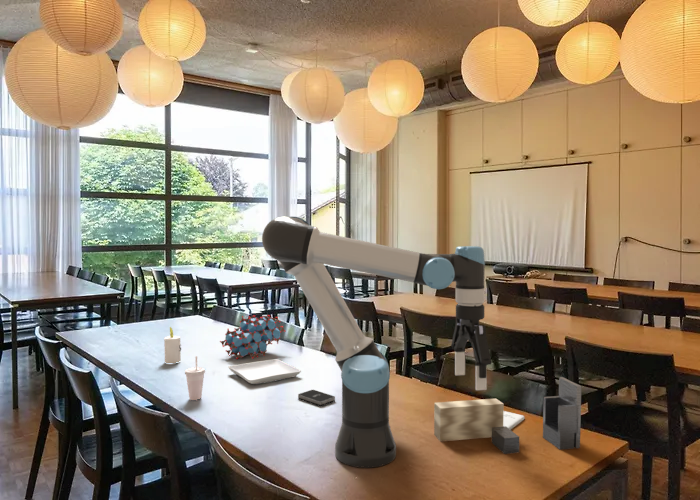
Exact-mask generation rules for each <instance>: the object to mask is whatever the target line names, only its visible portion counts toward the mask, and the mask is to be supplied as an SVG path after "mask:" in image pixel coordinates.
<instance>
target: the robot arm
mask: <svg viewBox="0 0 700 500" xmlns="http://www.w3.org/2000/svg"><path fill="white" fill-rule="evenodd" d="M262 232H263V233H262V236H261V239H262V240H261V242H262V246H263V249H264V251H265V252H266V253H267V255H268V256H269V257H271V258H272V259H274V260H276V261H279V263H280V265H281V267H282V268H283V270H284V272H285V274H288V275H290V276H293V277H294V278H295V280H296V281H297V283H298V285H299V287H300V289H301V290H302V292H303V294H304V296H305V298H306V299H307V302H308V303H309V304H310V306H311V308H312V310H313V312H314V313H315V315H316V318H317V319H318V320H319V323H320V324H321V325H322V328H323V329H324V331H325V333H326V335H327V336H328V339H329V340H330V342H331V344H332V345H333V348H335V351H336V355H335V359H334V361H335V362H336V364H337V366H338V368H339V369H340V371H341V373H340V376H341V381H342V382H341V392H342V393H341V395H342V397H341V403H342V404H341V408H342V409H341V418H342V419H341V425H340V428H339V432H338V436H337V438H336V441H335V447H334V455H335V458H336V459H337V460H338V461H339V462H341V463H342V464H345V465H347V466H351V467H355V468H378V467H382V466H386V465H388V464H390V463H392V462H393V461H394V460H395V459H396V456H397V445H396V441H395V440H394V439H395V438H394V435H393V433H392V429H391V426H390V377H391V372H390V367H389V363H388V360H387V358H386V356H385V355H384V354H383V352H381V351H380V350H379V348H378V347H377V345H376V343H375V342H374V339H373V338H372V337H369V336H365V335H364V332H362V330H361V328H360V327H359V325H358V322H357V321H356V319H355V317H354V316H353V314H352V312H351V310H350V308H349V307H348V304H347V303H346V301H345V300H344V297H343V296H342V295H341V293H340V291H339V289H338V287H337V286H336V283H335V282H334V280H333V279H332V277H331V274H330V273H329V271H328V269H327V268H326V266H325V265H328V266H333V267H336V268H337V267H338V268H343V269H347V270H352V271H356V272H362V273H366V274H371V275H376V276H380V277H386V278H390V279H394V280H399V281H405V282H408V283H409V282H410V283H414V284H418V285H422V286H427V287H429V288H430V289H432V290H433V289H434V290H443V289H446V288H448V287H449V286H450V285H451V284H452V283H454V282H455V302H456V305H455V326H454V331H453V335H452V340H451V344H450V345H451V348H453V351H454V375H455V376H465V375H466V352H465V351H467V350H466V345H467V343H468V342H469V343H470V344H471V348H472V350H473V355H474V357H475V361H476V362H475V364H474V366H475V368H474V369H475V370H474V371H475V377H474V378H475V380H474V381H475V384H474V385H475V391H487V385H488V384H487V381H488V380H487V378H488V377H487V373H488V372H487V366H489V365H491V364H492V358H491V355H490V348H489V344H488V339H487V331H486V326H485V325H480V321H481V320H483V319H485V305H484V303H485V294H486V291H485V269H486V268H485V266H486V262H485V251H484V248H483V247H481V246H477V245H472V246H471V245H467V246H466V245H465V246H464V245H462V246H460V245H459V246H456V247H455V252H454V253H449V254H448V253H422V252H418V251H414V250H413V251H412V250H408V249H402V248H398V247H395V246H390V245H383V244H378V243H374V242H371V241H365V240H361V239H355V238H350V237H345V236H341V235H336V234H331V233H327V232H322V231H320V230H319V228H318V227H317V226H313V225H310V223H309V222H308V221H306V220H305V219H303V218H301V217H299V216H287V215H285V216H278V217H275V218H274V219H272V220H270V221H269V222H268V223H267V225H266V226H265V227H264V229H263V231H262Z"/></svg>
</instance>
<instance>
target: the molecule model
mask: <svg viewBox="0 0 700 500" xmlns="http://www.w3.org/2000/svg"><path fill="white" fill-rule="evenodd" d="M247 317H248V318H244V316H243V315H242V316H241V320H240V321H239V327H238V328H236V327H235V328H234V329H233V331H231V330H229V328H227V331H226V333H225V334H224V335H225V339H224V340H222V341H221V340H219V343H221V345H222V347H223V348H225V347H226V346H228V347H229V349H228V350H227V349H226V350H225V352H226V353H227V356H228V355H229V354H230V355H229V357H231V356H233V355H234V356H235V359H236V360H238V359H239V358H243V357H246V356H248V355H249V356H250V358H251V357H252V358H251V359H253V360H254V358H259V355H260V354H262V355H263V356H265V355H266V352H267V351H268V350H267V348H268V345H273V342H276V344H277V345H279V341H280V339H281V333H282V332H283V333H285V332H286V330H285V328H284V325H280V326H276V323H281V320H280V319H279V317H278V316H275V317H271V315H270V314H267V315H266V316H265V315H262V316H260V317H256V315H254V314H253V315H252V316H250V315H249V316H247ZM236 357H237V358H236Z"/></svg>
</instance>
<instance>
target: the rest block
mask: <svg viewBox="0 0 700 500" xmlns="http://www.w3.org/2000/svg"><path fill="white" fill-rule="evenodd" d="M491 444H493V445H494V447H496V448H497V449H498V450H499V451H500V452H502V454H504V455H507V454H508V455H509V454H519V453H520V436H519V435H518V434H516V433H515V432H513V431H512V429H511V430H510V429H509V428H507V427H506V426H503V427H492V437H491Z"/></svg>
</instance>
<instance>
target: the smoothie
mask: <svg viewBox="0 0 700 500" xmlns="http://www.w3.org/2000/svg"><path fill="white" fill-rule="evenodd" d="M194 358H195V367H189V368H187V369H185V370H184V375H186V376H185V377H186V384H187V390H188V398H189V400H190V399H191V400H196V401H198V400H197V399H200V398H201V399H202V396H203V394H202V393H203V385H204V378H205V377H204V375H205V374H206V369H205V368H204V367H199V366H198V356H197V355H195V357H194ZM201 399H200V400H201ZM191 400H190V401H191Z"/></svg>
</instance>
